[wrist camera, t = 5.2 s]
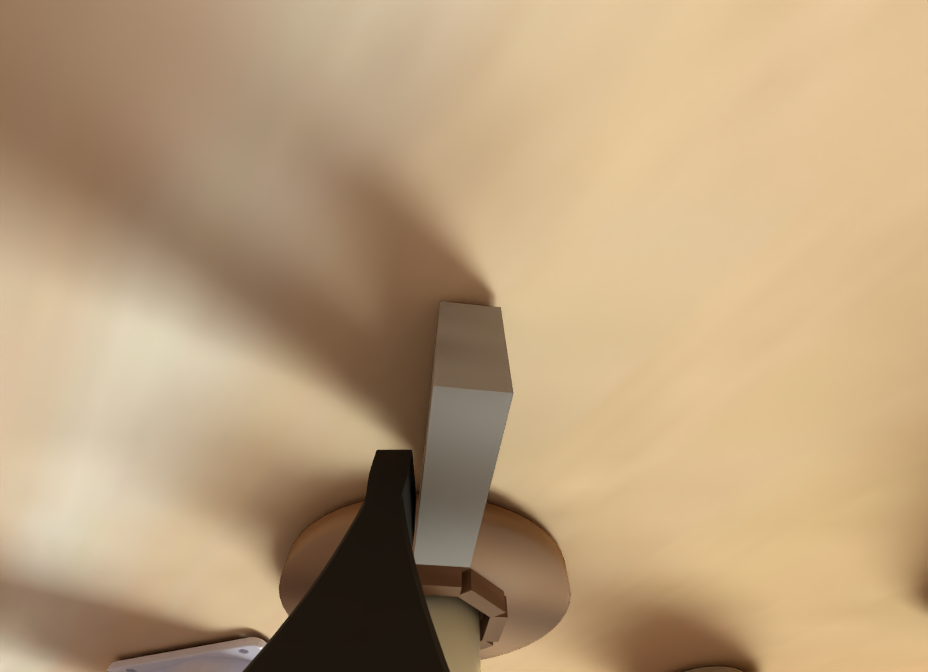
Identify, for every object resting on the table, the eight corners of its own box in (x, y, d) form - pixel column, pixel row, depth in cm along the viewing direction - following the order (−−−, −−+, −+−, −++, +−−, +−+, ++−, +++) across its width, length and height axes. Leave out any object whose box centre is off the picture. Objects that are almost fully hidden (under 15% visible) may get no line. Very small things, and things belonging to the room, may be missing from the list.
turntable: (532, 646, 23) (546, 761, 19) (298, 635, 22) (267, 752, 18) (689, 327, 12) (789, 453, 8) (234, 278, 11) (123, 395, 7)
